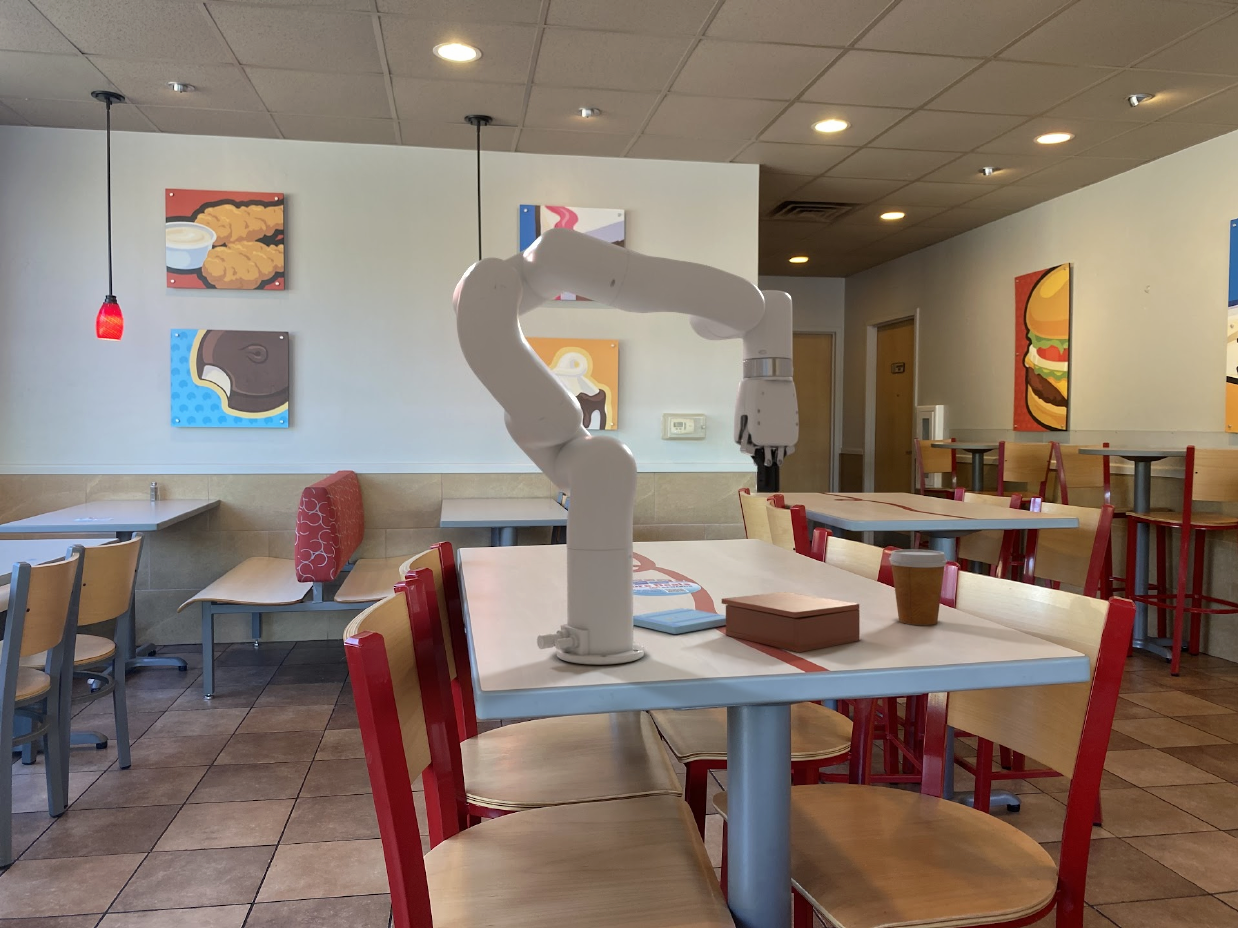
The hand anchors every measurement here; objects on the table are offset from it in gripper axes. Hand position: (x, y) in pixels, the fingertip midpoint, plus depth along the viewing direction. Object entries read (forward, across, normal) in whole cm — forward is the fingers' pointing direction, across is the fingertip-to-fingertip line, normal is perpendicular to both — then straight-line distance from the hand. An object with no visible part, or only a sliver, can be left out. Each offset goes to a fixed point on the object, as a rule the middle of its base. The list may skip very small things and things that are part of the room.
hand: (768, 491), depth 133 cm
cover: (+18, -5, 0) cm, 19 cm away
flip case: (+23, -5, 0) cm, 24 cm away
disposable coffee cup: (+23, -32, +4) cm, 40 cm away
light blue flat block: (+23, +2, -19) cm, 30 cm away
